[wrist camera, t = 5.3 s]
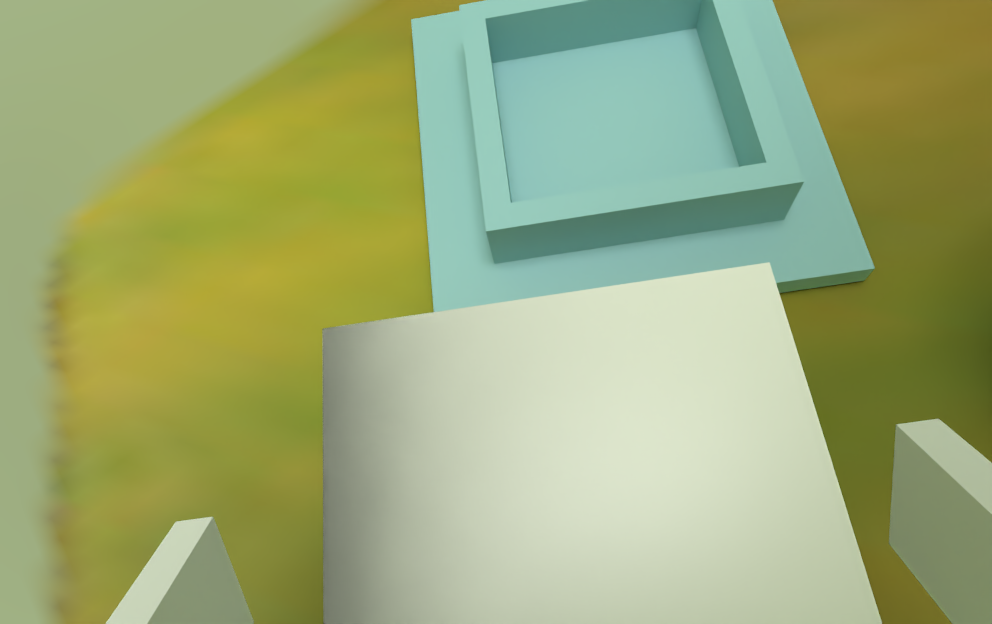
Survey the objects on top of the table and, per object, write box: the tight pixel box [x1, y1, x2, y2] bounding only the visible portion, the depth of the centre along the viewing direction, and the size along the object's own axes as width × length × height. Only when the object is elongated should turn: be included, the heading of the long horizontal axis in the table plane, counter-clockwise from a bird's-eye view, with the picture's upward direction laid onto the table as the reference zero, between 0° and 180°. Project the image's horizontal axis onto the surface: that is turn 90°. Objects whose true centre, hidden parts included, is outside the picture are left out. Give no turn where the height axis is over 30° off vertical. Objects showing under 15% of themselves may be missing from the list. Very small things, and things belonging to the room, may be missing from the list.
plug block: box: [323, 262, 882, 624], centre depth 12 cm, size 5×5×13 cm
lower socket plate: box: [411, 0, 875, 312], centre depth 27 cm, size 16×16×4 cm
